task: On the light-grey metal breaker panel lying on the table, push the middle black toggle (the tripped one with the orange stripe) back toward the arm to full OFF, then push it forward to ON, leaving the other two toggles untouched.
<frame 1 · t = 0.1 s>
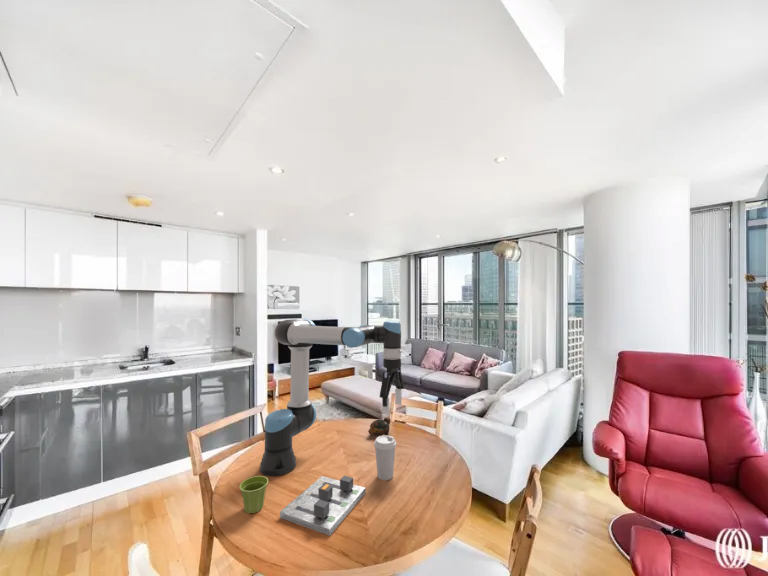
hand: (392, 409, 131), 28 cm above the table, fingers open, 13 cm apart
panel: (325, 504, 112), on the table
coffee cup: (385, 476, 131), on the table
breaker 1: (346, 483, 118), point 4 cm above the table, slide at 4.0 cm
breaker 2: (325, 492, 112), point 4 cm above the table, slide at 0.0 cm
breaker 3: (321, 508, 103), point 4 cm above the table, slide at 4.0 cm
plant pot: (253, 509, 110), on the table
decorative turtle: (379, 434, 173), on the table
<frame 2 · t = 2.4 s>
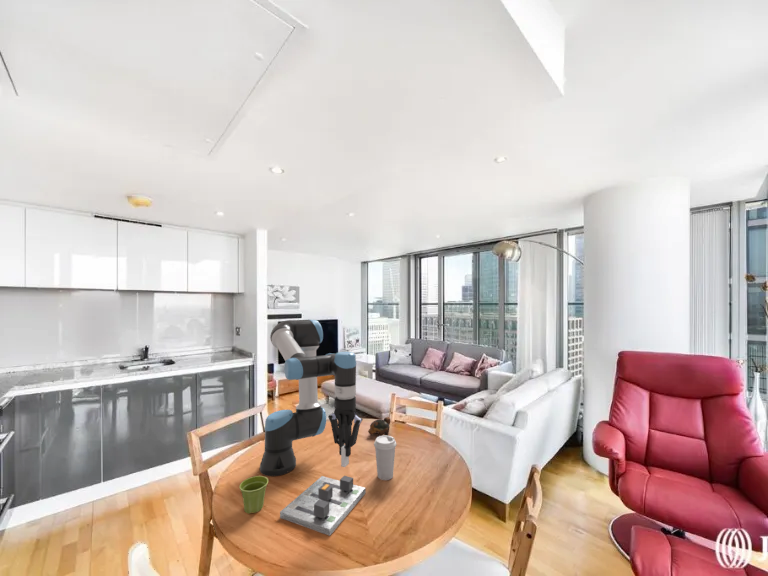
hand: (345, 464, 109), 16 cm above the table, fingers closed
nothing on the table moved.
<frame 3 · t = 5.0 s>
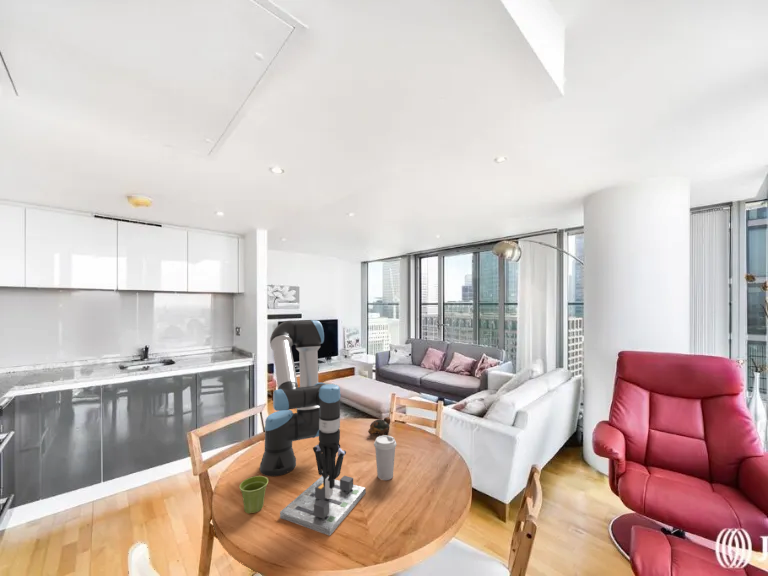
hand: (328, 496, 112), 3 cm above the table, fingers closed
breaker 2: (322, 491, 113), point 4 cm above the table, slide at -1.4 cm, touching gripper
everything else where it was.
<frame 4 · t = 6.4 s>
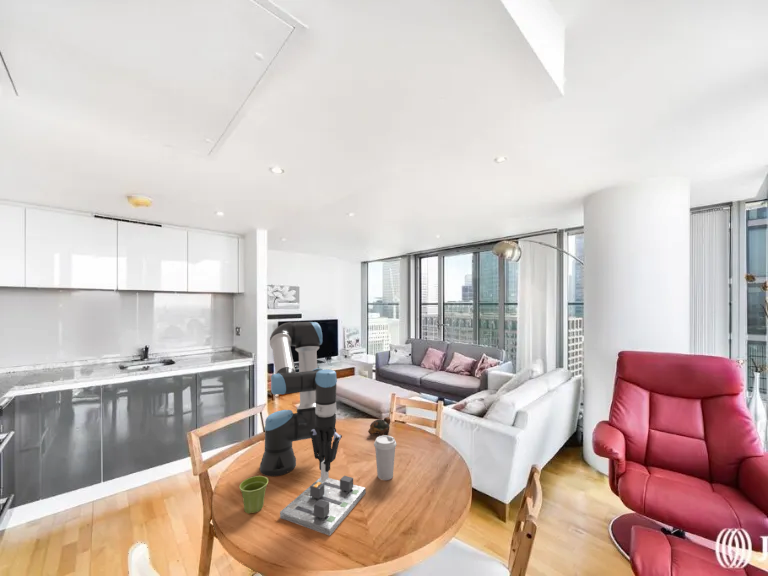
hand: (324, 479, 113), 9 cm above the table, fingers closed
breaker 2: (317, 489, 114), point 4 cm above the table, slide at -3.6 cm
everything else where it was.
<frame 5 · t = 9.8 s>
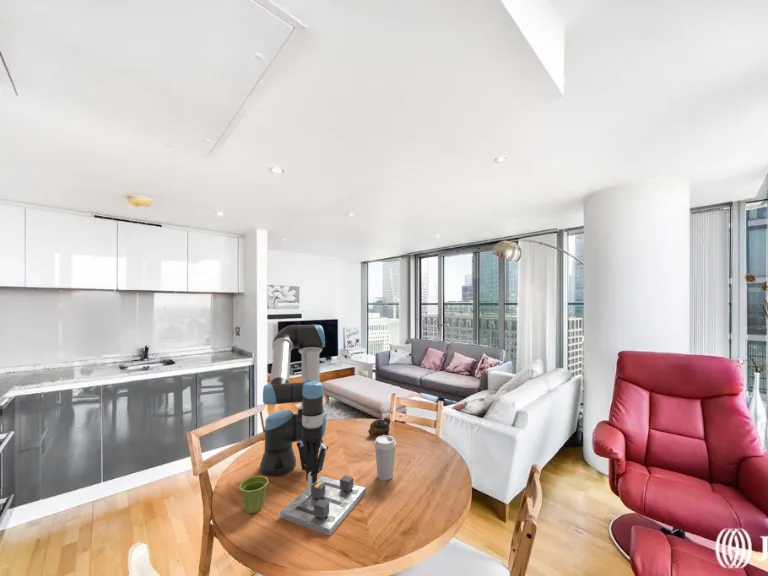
hand: (311, 490, 114), 4 cm above the table, fingers closed
breaker 2: (318, 490, 114), point 4 cm above the table, slide at -3.1 cm, touching gripper
everything else where it was.
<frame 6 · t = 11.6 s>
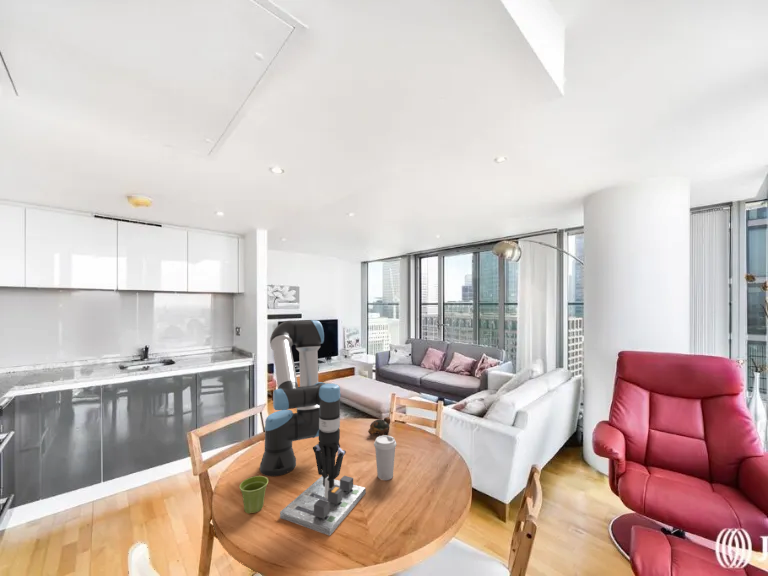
hand: (328, 496, 112), 3 cm above the table, fingers closed
breaker 2: (335, 494, 111), point 4 cm above the table, slide at 4.1 cm, touching gripper
everything else where it was.
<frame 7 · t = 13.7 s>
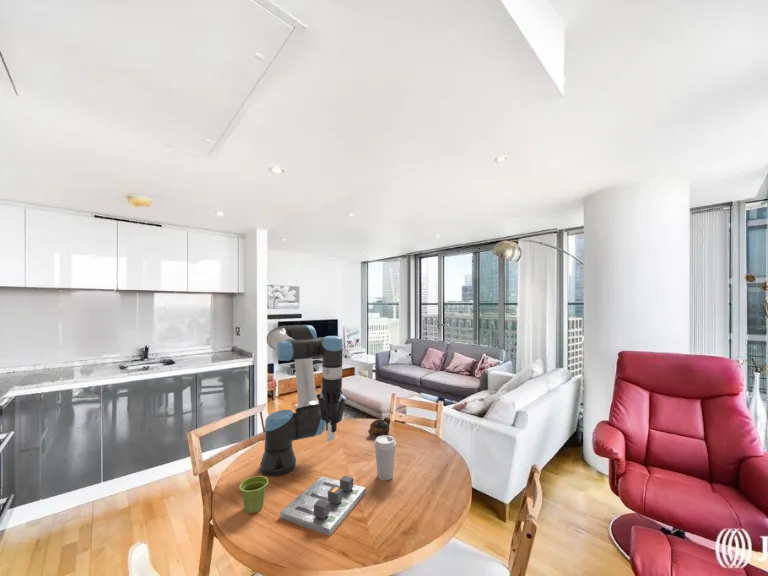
hand: (331, 439, 118), 21 cm above the table, fingers closed
breaker 2: (335, 494, 111), point 4 cm above the table, slide at 4.1 cm
everything else where it was.
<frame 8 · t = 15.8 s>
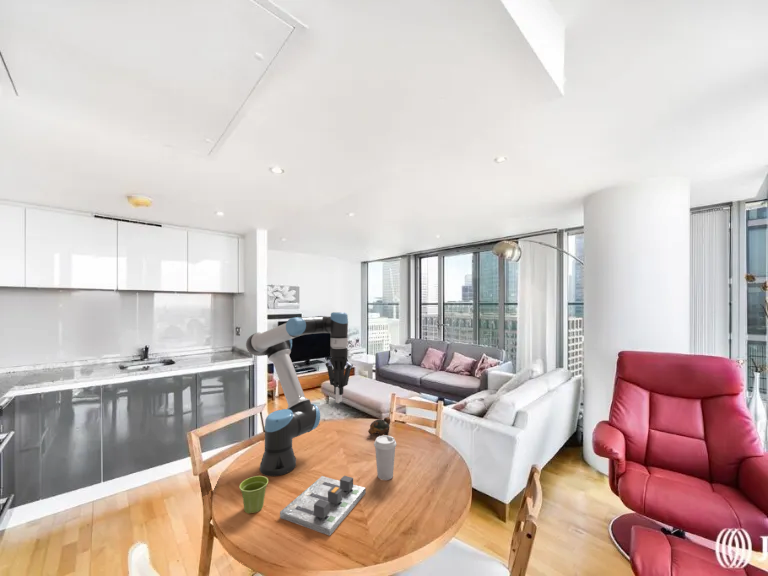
hand: (338, 401, 136), 29 cm above the table, fingers closed
nothing on the table moved.
at the end: breaker 2 slide at 4.1 cm; breaker 1 slide at 4.0 cm; breaker 3 slide at 4.0 cm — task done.
